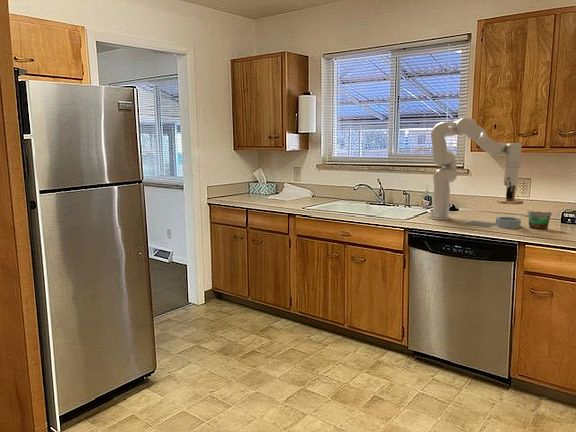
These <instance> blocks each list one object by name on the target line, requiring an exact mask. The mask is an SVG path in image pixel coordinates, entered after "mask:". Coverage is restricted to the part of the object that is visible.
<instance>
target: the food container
mask: <svg viewBox="0 0 576 432" xmlns="http://www.w3.org/2000/svg"><path fill="white" fill-rule="evenodd" d="M527 215H528V229H532V230H537V231H539V230H540V231H545V230H548V228H549V222H550V218H551V216H552V215H553V214H552V211H547V212H545V211H544V212H543V211H532V210H529V209H528V211H527Z"/></svg>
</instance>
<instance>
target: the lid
mask: <svg viewBox="0 0 576 432" xmlns="http://www.w3.org/2000/svg"><path fill="white" fill-rule="evenodd" d="M512 191H513V195H512V198H506V197H505V198H501V199H496V203H497V204H502V205H523V204H524V200H522V199H515V198H516V197H515V196H516V187H515V188H512Z"/></svg>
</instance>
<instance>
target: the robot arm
mask: <svg viewBox="0 0 576 432" xmlns="http://www.w3.org/2000/svg"><path fill="white" fill-rule="evenodd" d="M458 135H464V136H466V137H467V138H468V139H470V140H472V142H473V141H474V143H475V144H476V145H477V146H478V147H479V148H480V149H481V150H483V151H484V152H486V153H487V154H489V155H490V156H491V157H492V156H493V157H501V156H503V157H504V156H505V165H504V168H505V171H504V176H503V177H504V178H503V185H504V186H505V187H506V192H505V193H506V194H505V199H506V198H512V195H513V191H512V188H515V189H516V186H517V185H518V183H519V169H520V168H521V157H522V144H521V142H520V143H519V142H510V143H507V142H497V141H495V140H493V139H492V138H491V137H489V136H488V134H487V132H486V129H484V127H481V126H480V125H478V124H477V122H476V120H475V119H473V118H471V117H462V118H460V119H458V120H455V121H441V122H439V123H436V125H435V126H434V127H433V128H432V130H431V134H430V138H431V139H430V140H431V145H432V147H431V148H432V157H433V162H434V165H435V166H437V167H441V168H439V169H436V171H435V172H434V174H433V176H432V178H433V180H432V181H433V202H432V203H433V205H432V210H427V215H430V217H429V218H430V219H431V220H437V221H446V220H451V219H452V216H450V215H449V213H450V198H451V188H450V183H453V182H455V180H457V175H458V172H457V170H458V169H457V163H456V156H455V154H454V153H453V152H452V151H450V150H448V147H447V146H448V145H447V141H446V139H445V137H450V136H451V137H452V136H458Z"/></svg>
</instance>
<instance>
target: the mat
mask: <svg viewBox="0 0 576 432" xmlns="http://www.w3.org/2000/svg"><path fill="white" fill-rule="evenodd" d="M463 225H468V226H475V227H481V228H483V227H484V228H490V227H493V226H496V222H487V221H479V220H471V221H468V222H464V223H463Z"/></svg>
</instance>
